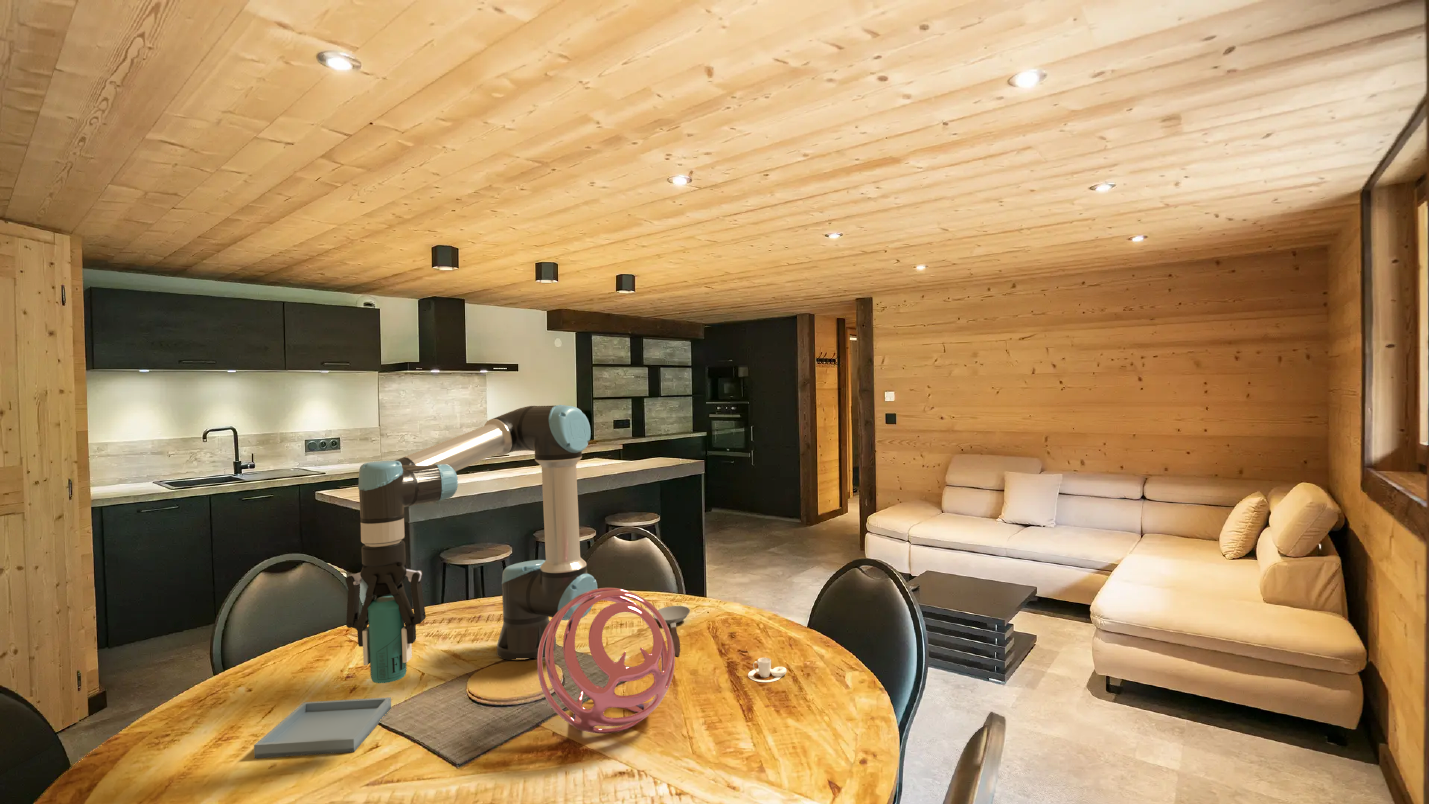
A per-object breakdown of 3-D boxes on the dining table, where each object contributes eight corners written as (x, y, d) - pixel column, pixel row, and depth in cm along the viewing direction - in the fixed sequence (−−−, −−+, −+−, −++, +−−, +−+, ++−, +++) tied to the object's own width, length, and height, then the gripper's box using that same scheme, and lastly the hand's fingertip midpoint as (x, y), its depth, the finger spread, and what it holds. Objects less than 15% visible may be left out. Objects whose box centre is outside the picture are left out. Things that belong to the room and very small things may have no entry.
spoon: (689, 613, 206) (688, 603, 206) (699, 659, 173) (698, 648, 173) (653, 618, 205) (652, 608, 205) (657, 666, 172) (655, 654, 172)
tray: (391, 708, 147) (390, 697, 147) (354, 752, 129) (353, 739, 129) (304, 713, 145) (303, 702, 145) (254, 758, 127) (254, 745, 127)
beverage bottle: (393, 692, 127) (388, 586, 126) (362, 690, 128) (357, 585, 128) (415, 677, 133) (411, 576, 133) (385, 676, 134) (381, 575, 134)
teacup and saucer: (789, 673, 162) (789, 656, 162) (778, 687, 154) (777, 669, 154) (755, 668, 165) (755, 651, 165) (742, 681, 158) (742, 663, 158)
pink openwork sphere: (529, 608, 152) (563, 559, 133) (645, 619, 163) (693, 576, 144) (515, 745, 135) (552, 712, 116) (646, 748, 146) (699, 718, 127)
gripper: (441, 535, 135) (446, 650, 135) (339, 540, 133) (344, 656, 133) (429, 544, 127) (433, 665, 128) (320, 549, 126) (326, 672, 126)
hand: (388, 660), depth 131 cm, fingers closed on beverage bottle, 6 cm apart
